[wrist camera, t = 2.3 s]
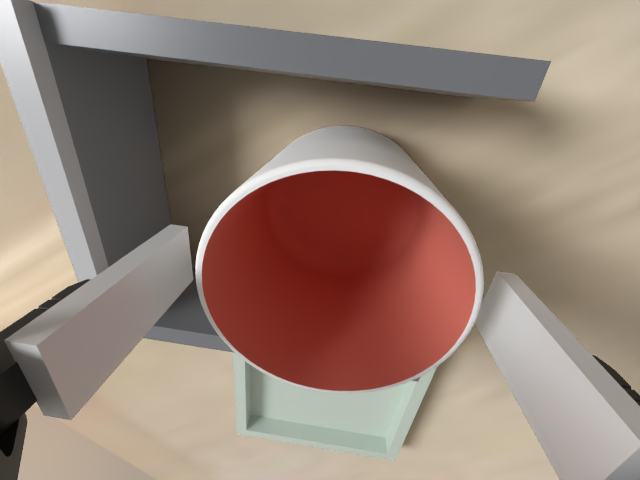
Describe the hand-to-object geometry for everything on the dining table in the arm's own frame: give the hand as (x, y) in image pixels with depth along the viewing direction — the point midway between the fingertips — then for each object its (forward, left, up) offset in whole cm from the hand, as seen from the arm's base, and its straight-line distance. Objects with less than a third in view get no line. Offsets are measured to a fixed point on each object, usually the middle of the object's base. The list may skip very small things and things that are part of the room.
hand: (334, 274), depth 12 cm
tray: (+17, +1, -7) cm, 18 cm away
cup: (0, 0, -8) cm, 8 cm away
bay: (0, -4, -7) cm, 8 cm away
